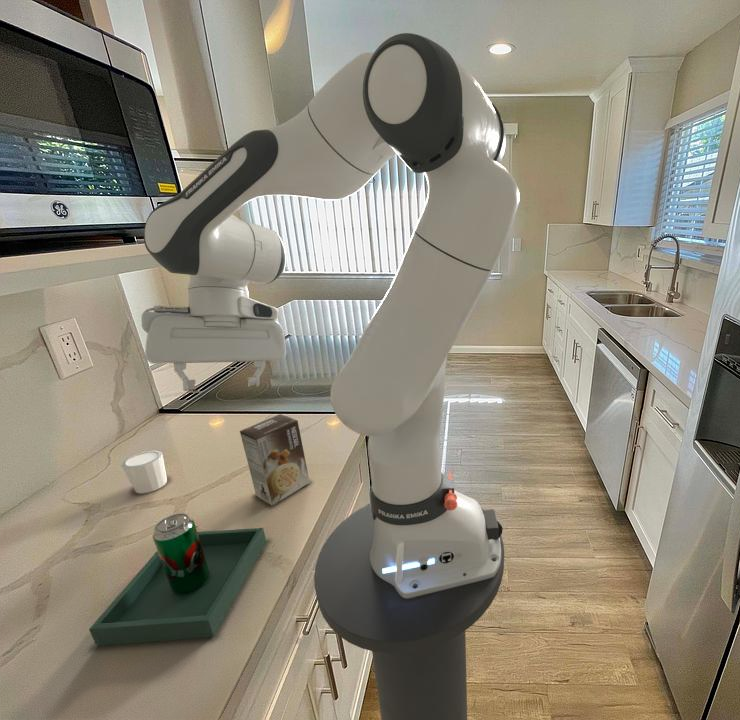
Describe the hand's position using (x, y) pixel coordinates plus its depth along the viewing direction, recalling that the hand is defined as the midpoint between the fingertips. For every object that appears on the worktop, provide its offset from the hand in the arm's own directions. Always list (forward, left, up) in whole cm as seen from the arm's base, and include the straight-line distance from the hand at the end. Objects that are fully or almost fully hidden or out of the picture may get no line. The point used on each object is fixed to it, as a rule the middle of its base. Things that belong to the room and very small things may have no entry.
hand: (223, 388), depth 68 cm
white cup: (+28, -14, -29) cm, 43 cm away
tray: (+3, +14, -28) cm, 32 cm away
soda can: (+3, +14, -28) cm, 32 cm away
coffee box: (-2, -10, -29) cm, 30 cm away
